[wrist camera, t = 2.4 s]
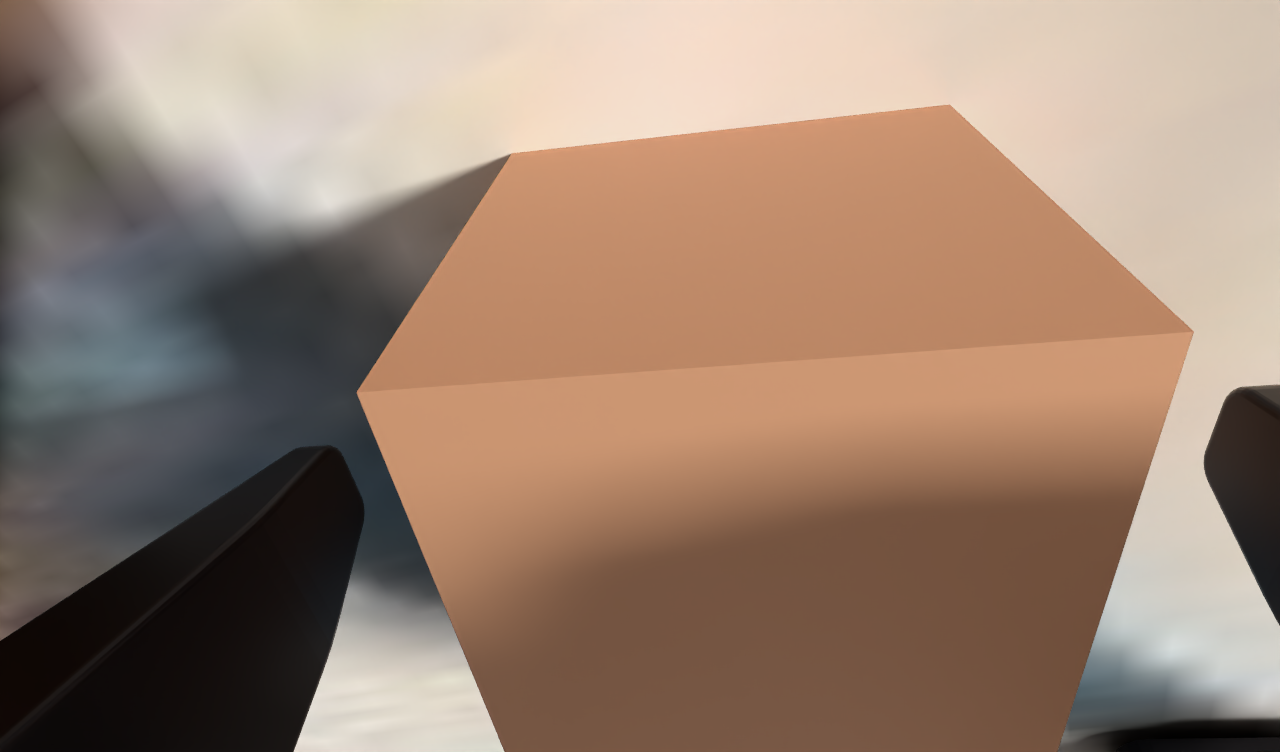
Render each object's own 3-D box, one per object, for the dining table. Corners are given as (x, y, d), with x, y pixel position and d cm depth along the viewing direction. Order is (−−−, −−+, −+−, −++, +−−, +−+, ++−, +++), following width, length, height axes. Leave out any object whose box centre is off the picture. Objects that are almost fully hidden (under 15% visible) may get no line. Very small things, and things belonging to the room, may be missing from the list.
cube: (914, 449, 11) (1043, 793, 7) (583, 468, 12) (522, 794, 8) (947, 103, 8) (1193, 333, 4) (512, 150, 9) (356, 393, 5)
